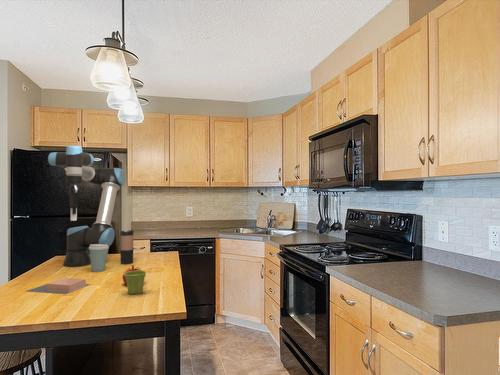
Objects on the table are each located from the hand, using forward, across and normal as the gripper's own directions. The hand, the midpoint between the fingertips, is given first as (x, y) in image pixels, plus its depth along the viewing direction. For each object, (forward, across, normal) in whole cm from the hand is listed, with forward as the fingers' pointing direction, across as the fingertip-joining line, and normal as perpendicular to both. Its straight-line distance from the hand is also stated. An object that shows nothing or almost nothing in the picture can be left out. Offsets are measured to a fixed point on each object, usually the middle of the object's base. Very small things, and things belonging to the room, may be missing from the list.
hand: (73, 220), depth 175 cm
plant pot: (+30, +48, +16) cm, 59 cm away
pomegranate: (+30, +34, +20) cm, 49 cm away
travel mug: (+30, -17, +33) cm, 47 cm away
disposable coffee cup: (+30, -6, +14) cm, 33 cm away
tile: (+27, +19, -11) cm, 35 cm away
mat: (+29, +21, -9) cm, 37 cm away
